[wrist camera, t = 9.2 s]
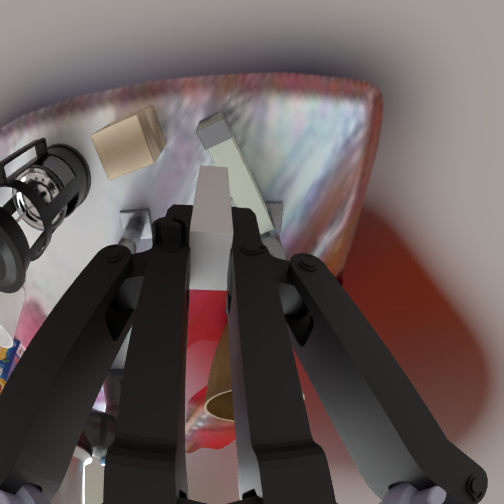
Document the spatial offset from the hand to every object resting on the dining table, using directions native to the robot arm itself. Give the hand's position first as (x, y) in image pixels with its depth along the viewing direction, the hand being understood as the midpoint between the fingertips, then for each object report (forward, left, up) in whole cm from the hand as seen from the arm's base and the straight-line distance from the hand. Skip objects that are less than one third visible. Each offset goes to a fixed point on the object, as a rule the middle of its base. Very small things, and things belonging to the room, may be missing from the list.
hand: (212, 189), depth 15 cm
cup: (+4, +47, -18) cm, 50 cm away
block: (+5, +7, -17) cm, 19 cm away
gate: (-5, +1, -17) cm, 17 cm away
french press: (+9, +19, -18) cm, 27 cm away
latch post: (-4, +16, -17) cm, 24 cm away
